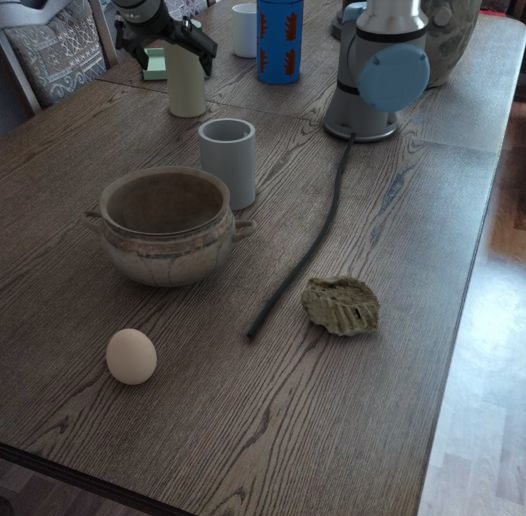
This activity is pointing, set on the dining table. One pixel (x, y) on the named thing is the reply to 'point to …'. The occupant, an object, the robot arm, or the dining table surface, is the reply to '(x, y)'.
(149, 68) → the tray
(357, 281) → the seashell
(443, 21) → the clay pot
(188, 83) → the jar
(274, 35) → the thermos
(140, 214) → the cooking pot
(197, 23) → the lid
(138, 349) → the egg
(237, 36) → the mug
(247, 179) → the cup
